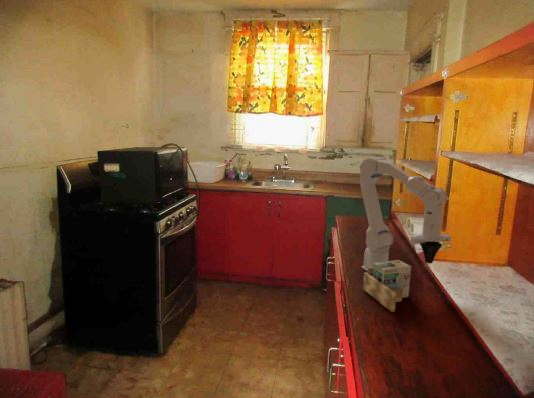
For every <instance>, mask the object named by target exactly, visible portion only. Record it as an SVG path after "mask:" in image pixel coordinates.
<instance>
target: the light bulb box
mask: <svg viewBox="0 0 534 398" xmlns="http://www.w3.org/2000/svg"><path fill="white" fill-rule="evenodd" d="M411 270H412V265H409V264H407V263H405V262H404V261H401V260H399V259H396V260H395V259H394V260H388V261H385V262H377V263H373V271H372V277H374V278H375V279H377V280H378V281H380V282H381V283H382V284H384V285H385V286H387V287H388V288H390V289H399V288H401V289H402V290H403V291H402V299H404V298H409V293H410V282H411V274H412V272H411Z"/></svg>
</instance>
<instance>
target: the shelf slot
mask: <svg viewBox="0 0 534 398" xmlns="http://www.w3.org/2000/svg"><path fill="white" fill-rule="evenodd" d="M372 271H373V267H368V271H366V272H363V282H362V283H363V285H362V289H363V291H365V292H366V293H368V294H369V295H370V296H371V297H372V298H373V299H375V300H376V301H377V302H379V303H380V304H381V305H382V306H383V307H385V308H386V309H387V310H389V311H390V312H391V313H394V312H395V311H396V303H398V302H402V301H403V298H402V291H403V290H402V289H401V288H399V289H390V288H388V287H387V286H385V285H384V284H382V283H381V282H380V281H378V280H377V279H375V278H374V277H372Z"/></svg>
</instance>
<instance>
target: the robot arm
mask: <svg viewBox="0 0 534 398" xmlns="http://www.w3.org/2000/svg"><path fill="white" fill-rule="evenodd" d="M359 170H360V175H359V186H360V191H361V195H362V199H363V203H364V209H365V213H366V217H367V222H368V228H367V229H366V231H365V235H366V238H365V244H366V248H365V250H364V252H363V253H364V255H363V256H364V257H363V265H362V266H361V268H362V269H363V270H365V271H366V272H367V271H368V267H373V263H377V262H385V261H389V251H390V247H391V246H392V245H393V243H394V237H393V234H392V233H391V231H390V229H389V226H388V225H387V224H385V222H384V219H383V218H384V217H383V214H382V209H381V206H380V205H381V204H380V202H379V201H380V200H379V196H378V195H379V194H378V192H377V187H376V182H378V180H379V178H380V177H381V176H383V175H388V176H390V177H392V178H393V179H395V180H397V181H399V182H401V183H402V184H404V185H405V188H406V191H409V192H410V193H412V194H413V195H414V196H416V197H417V198H419V199H421V201H422V204H423V205H424V212H423V221H422V231H421V233H422V234H420V235H416V236H411V237H410V243H411V244H412V245H418V244H419V245H420V247H421V249H422V252H423V255H424V262H426V264H433V263H434V259H435V257H436V255H437V253H438V252H439V250H440V249H441V248H442V243H441V242H451V241H452V236H451V235H450V234H441V233H442V227H443V226H442V225H443V214H444V204H445V203H446V202H447V201H448V194H447V191H445V190H444V189H443V188H442V187H436V185H435V184H430V183H429V182H428V181H425V180H424V177H423V176H421V175H419V176H418V175H413V176H411V175H410V174H409V173H407V172H406V171H405V170H403V169H401V168H400V167H399V166H397V165H396V164H395V163H393V162H392V160H390V159H387V158H386V157H384V156H378V157H366V158H364V159H363V160H362V161H361V163H360V164H359Z"/></svg>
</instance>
